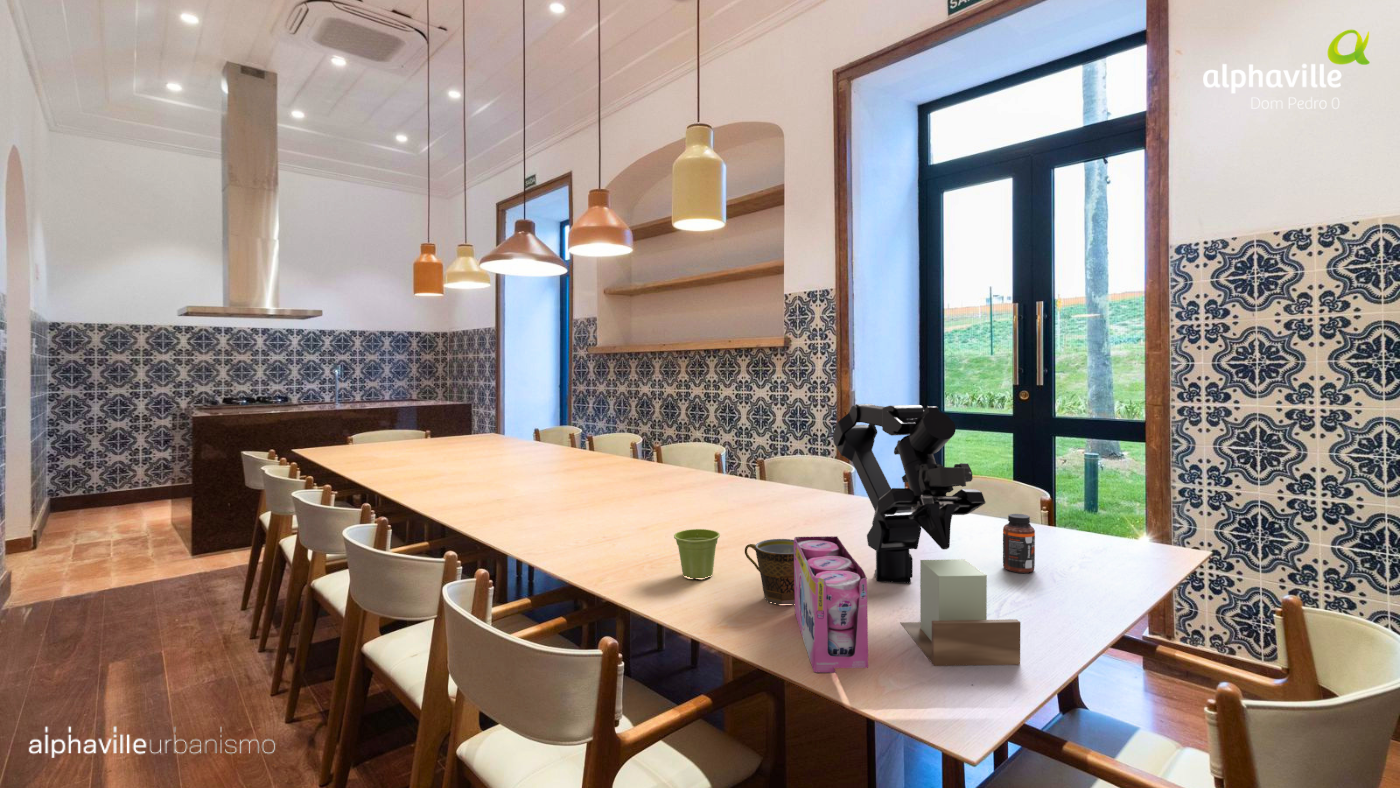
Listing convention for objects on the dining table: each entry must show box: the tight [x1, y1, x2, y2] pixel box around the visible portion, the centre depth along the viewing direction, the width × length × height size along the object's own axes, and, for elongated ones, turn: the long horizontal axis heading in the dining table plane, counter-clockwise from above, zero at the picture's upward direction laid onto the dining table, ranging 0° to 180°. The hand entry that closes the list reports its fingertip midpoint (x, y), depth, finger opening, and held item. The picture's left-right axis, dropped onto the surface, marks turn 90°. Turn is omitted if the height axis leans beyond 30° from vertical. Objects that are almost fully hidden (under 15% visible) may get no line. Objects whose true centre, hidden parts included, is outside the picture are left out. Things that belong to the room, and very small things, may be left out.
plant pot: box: [673, 528, 721, 578], centre depth 133 cm, size 9×9×9 cm
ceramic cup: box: [744, 538, 795, 604], centre depth 120 cm, size 13×10×10 cm
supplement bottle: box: [1002, 513, 1036, 574], centre depth 135 cm, size 6×6×11 cm
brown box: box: [900, 618, 1021, 667], centre depth 98 cm, size 15×12×7 cm
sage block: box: [919, 558, 988, 641], centre depth 99 cm, size 8×7×11 cm
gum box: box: [793, 535, 869, 674], centre depth 101 cm, size 24×8×14 cm, turn 179°
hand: (945, 548), depth 111 cm, fingers closed
